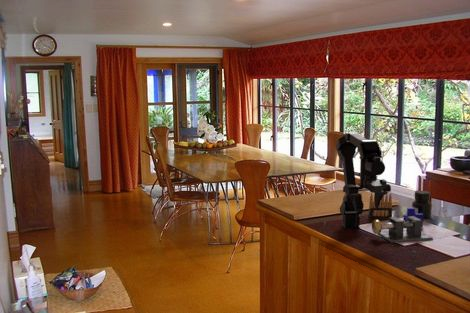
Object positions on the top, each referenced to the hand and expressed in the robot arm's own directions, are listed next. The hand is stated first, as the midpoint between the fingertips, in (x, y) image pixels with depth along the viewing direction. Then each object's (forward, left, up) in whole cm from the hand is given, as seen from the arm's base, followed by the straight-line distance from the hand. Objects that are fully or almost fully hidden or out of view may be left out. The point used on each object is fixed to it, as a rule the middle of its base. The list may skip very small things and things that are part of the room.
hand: (366, 209), depth 206 cm
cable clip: (+31, +17, -13) cm, 37 cm away
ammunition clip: (+21, +29, -13) cm, 38 cm away
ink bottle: (+41, +27, -13) cm, 51 cm away
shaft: (+12, -1, -10) cm, 15 cm away
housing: (+17, -1, -12) cm, 21 cm away
